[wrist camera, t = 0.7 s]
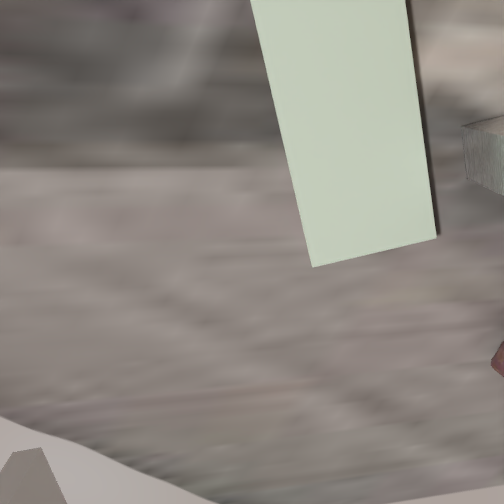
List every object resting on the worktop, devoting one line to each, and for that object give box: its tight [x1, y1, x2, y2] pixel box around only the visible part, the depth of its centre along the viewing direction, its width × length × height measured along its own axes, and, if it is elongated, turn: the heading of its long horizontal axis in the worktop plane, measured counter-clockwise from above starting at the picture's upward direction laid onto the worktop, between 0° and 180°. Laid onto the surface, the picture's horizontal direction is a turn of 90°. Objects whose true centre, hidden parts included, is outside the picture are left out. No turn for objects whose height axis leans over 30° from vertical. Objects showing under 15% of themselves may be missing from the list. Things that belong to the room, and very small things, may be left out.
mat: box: [250, 0, 437, 268], centre depth 33 cm, size 32×10×1 cm, turn 14°
